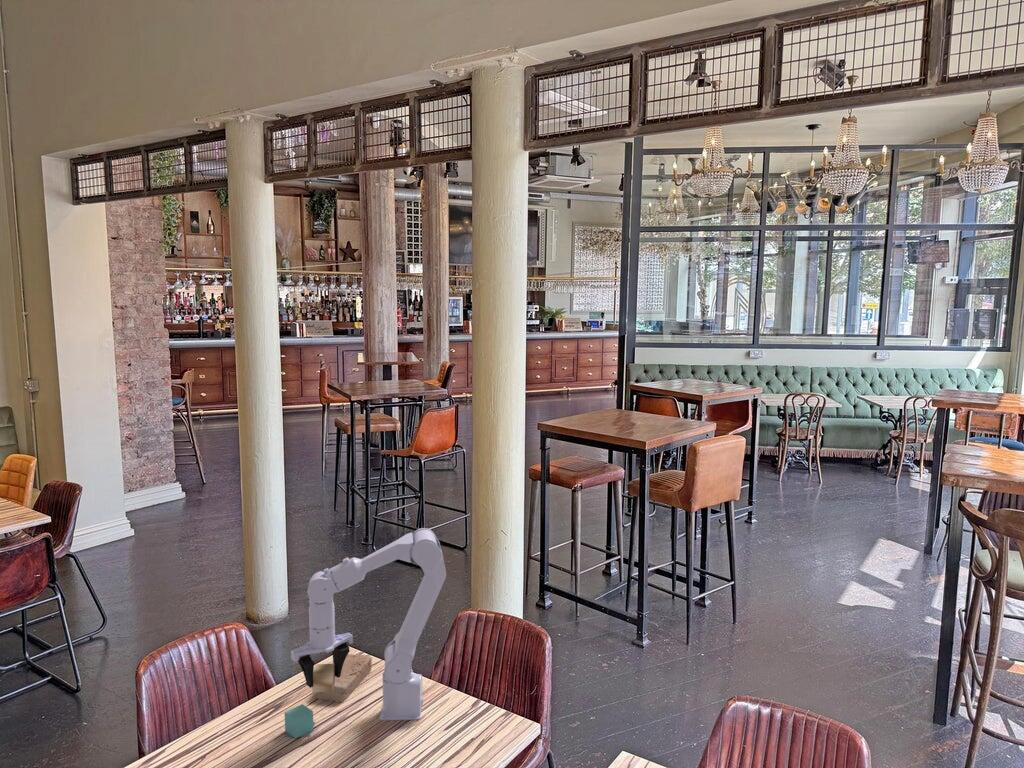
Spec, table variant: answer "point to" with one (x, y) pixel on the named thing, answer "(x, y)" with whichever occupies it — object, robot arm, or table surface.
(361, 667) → the brick
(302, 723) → the teal block
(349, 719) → the table surface
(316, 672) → the beech block
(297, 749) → the table surface
